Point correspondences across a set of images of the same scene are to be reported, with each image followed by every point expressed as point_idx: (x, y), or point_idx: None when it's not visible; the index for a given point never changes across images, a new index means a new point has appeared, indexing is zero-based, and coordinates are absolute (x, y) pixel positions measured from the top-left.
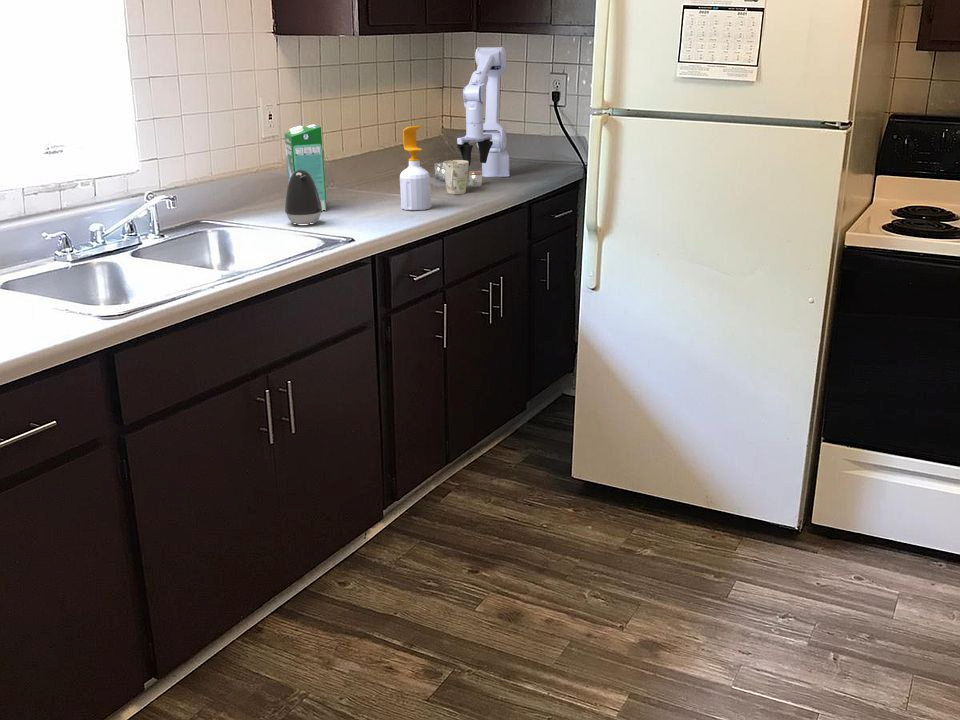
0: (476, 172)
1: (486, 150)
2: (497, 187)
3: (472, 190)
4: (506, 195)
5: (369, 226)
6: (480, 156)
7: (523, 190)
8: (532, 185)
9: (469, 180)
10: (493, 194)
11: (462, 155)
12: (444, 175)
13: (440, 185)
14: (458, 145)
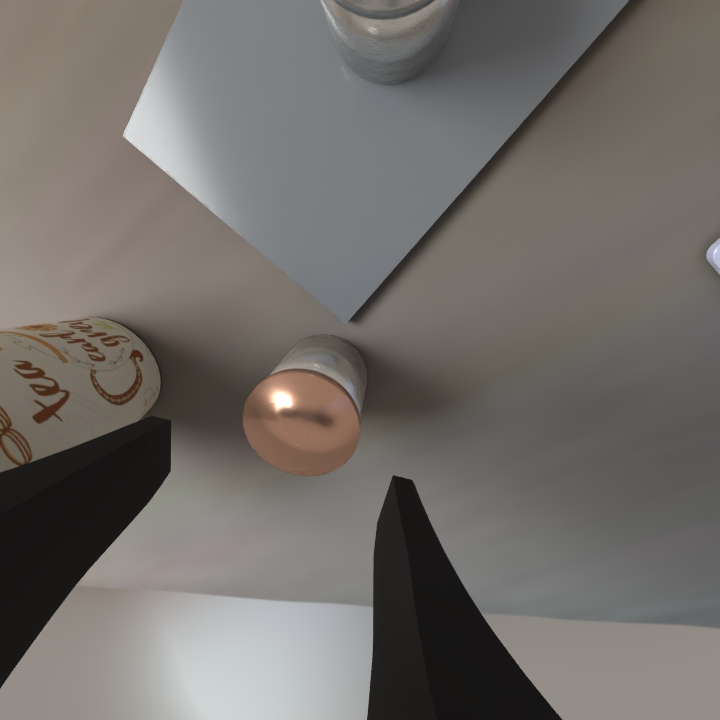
0: (275, 448)
1: (369, 701)
2: (369, 484)
3: (220, 411)
4: (212, 584)
5: None
6: (396, 528)
7: (351, 601)
8: (496, 596)
9: (279, 363)
10: (197, 537)
11: (24, 476)
12: (323, 8)
13: (170, 144)
14: None
